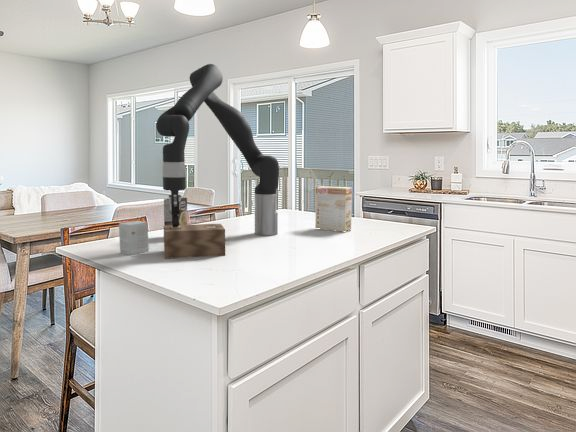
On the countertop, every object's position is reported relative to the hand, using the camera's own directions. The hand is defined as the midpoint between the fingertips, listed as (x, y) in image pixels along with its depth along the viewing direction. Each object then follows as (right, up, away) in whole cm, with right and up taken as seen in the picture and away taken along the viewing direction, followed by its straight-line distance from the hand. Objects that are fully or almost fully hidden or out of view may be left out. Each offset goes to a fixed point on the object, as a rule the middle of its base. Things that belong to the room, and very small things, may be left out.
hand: (175, 226), depth 156 cm
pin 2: (+12, -8, +4) cm, 15 cm away
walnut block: (+6, -9, +3) cm, 11 cm away
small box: (-15, -9, +3) cm, 18 cm away
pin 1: (0, -8, +1) cm, 8 cm away
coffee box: (-7, -5, +30) cm, 32 cm away
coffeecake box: (+59, -3, +51) cm, 78 cm away
